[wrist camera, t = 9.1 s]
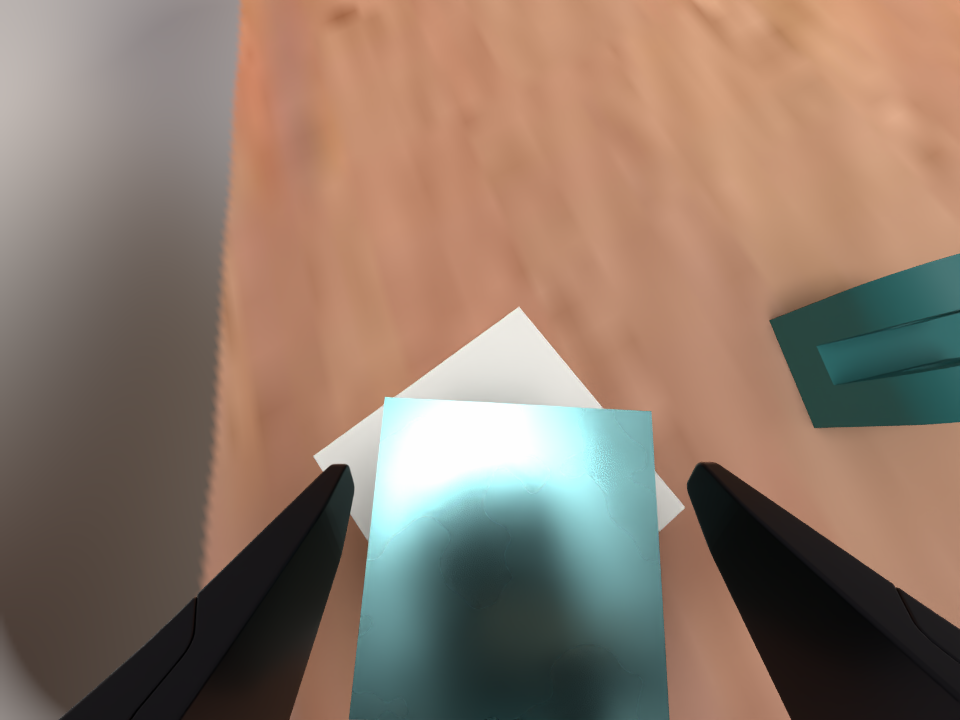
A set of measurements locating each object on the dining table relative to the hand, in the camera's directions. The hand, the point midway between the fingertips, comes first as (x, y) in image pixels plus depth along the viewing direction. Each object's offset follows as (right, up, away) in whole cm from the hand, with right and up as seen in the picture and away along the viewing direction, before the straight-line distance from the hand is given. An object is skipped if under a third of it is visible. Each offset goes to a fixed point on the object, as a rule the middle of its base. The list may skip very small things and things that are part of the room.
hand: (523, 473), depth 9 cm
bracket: (+26, +4, +13) cm, 30 cm away
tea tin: (-1, -3, +8) cm, 9 cm away
